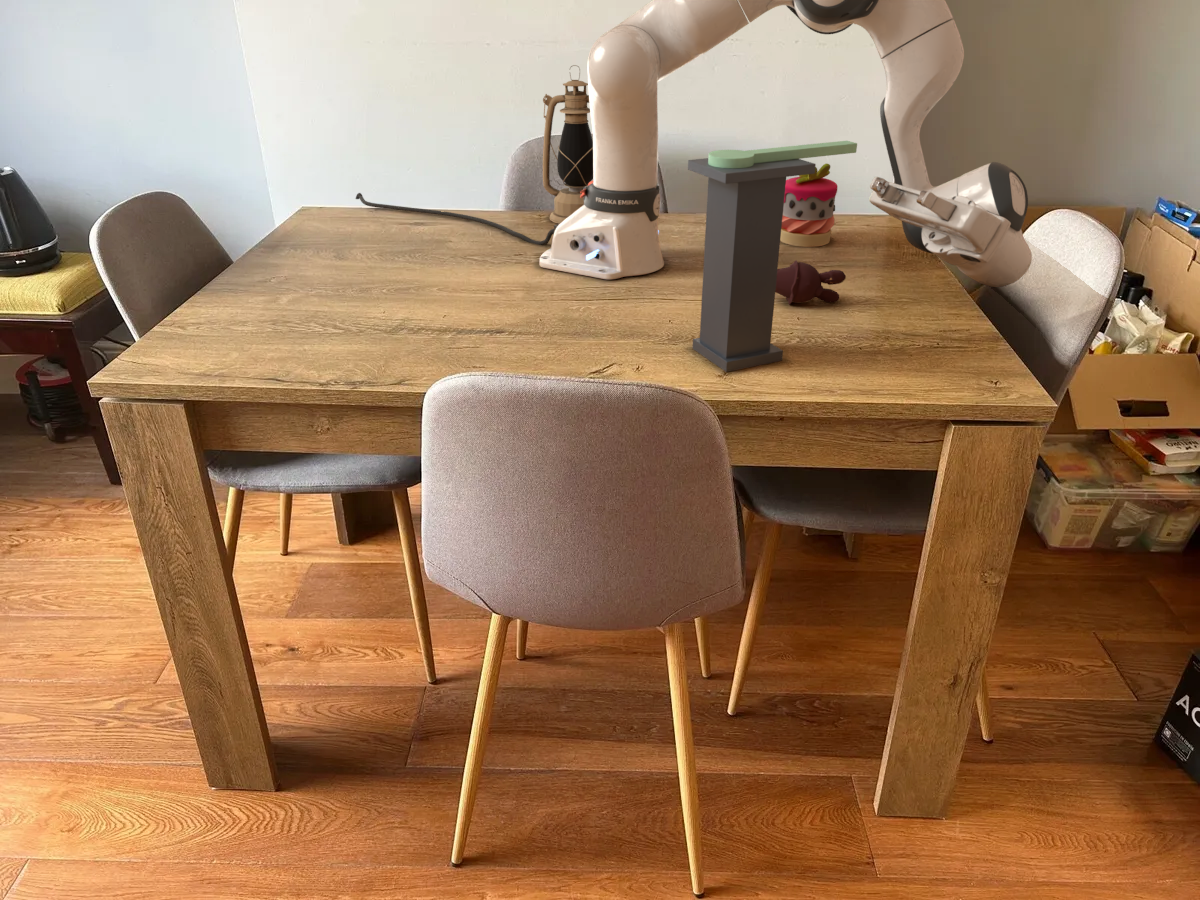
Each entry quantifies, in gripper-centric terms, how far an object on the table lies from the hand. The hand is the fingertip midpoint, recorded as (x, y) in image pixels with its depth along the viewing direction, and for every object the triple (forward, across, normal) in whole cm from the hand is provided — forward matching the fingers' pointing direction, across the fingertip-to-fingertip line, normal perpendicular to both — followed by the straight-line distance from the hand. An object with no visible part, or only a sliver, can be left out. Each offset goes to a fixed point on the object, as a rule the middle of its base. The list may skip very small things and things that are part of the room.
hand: (898, 189), depth 122 cm
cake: (-26, -43, +8) cm, 51 cm away
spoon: (+19, 0, +5) cm, 20 cm away
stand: (+11, 0, +30) cm, 32 cm away
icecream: (-6, -14, +20) cm, 25 cm away
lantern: (+2, -78, +25) cm, 82 cm away
